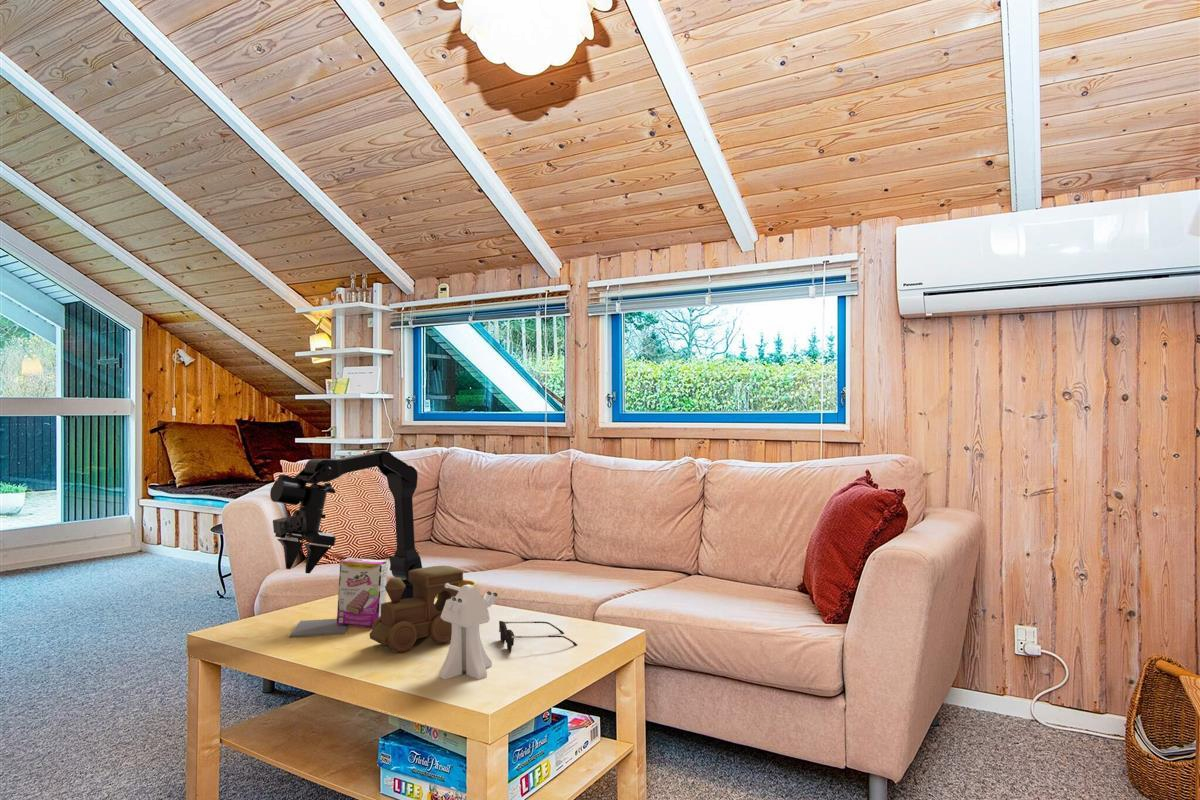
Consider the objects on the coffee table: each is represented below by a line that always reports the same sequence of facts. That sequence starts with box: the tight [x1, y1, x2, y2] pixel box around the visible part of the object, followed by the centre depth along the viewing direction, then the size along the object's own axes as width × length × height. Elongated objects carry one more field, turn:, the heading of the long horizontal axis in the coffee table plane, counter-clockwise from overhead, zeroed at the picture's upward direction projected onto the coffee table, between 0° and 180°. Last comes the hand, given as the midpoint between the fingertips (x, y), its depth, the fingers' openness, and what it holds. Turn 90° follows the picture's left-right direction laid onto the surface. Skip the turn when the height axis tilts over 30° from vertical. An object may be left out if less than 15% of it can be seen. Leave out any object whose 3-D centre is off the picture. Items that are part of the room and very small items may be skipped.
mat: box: [288, 618, 350, 638], centre depth 202 cm, size 13×14×1 cm
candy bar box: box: [336, 557, 389, 628], centre depth 204 cm, size 11×5×16 cm, turn 84°
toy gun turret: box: [438, 583, 499, 680], centre depth 167 cm, size 12×13×18 cm
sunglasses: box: [498, 620, 578, 653], centre depth 187 cm, size 14×16×5 cm
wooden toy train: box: [369, 565, 464, 653], centre depth 188 cm, size 20×11×17 cm, turn 129°
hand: (297, 571), depth 198 cm, fingers open, 9 cm apart
